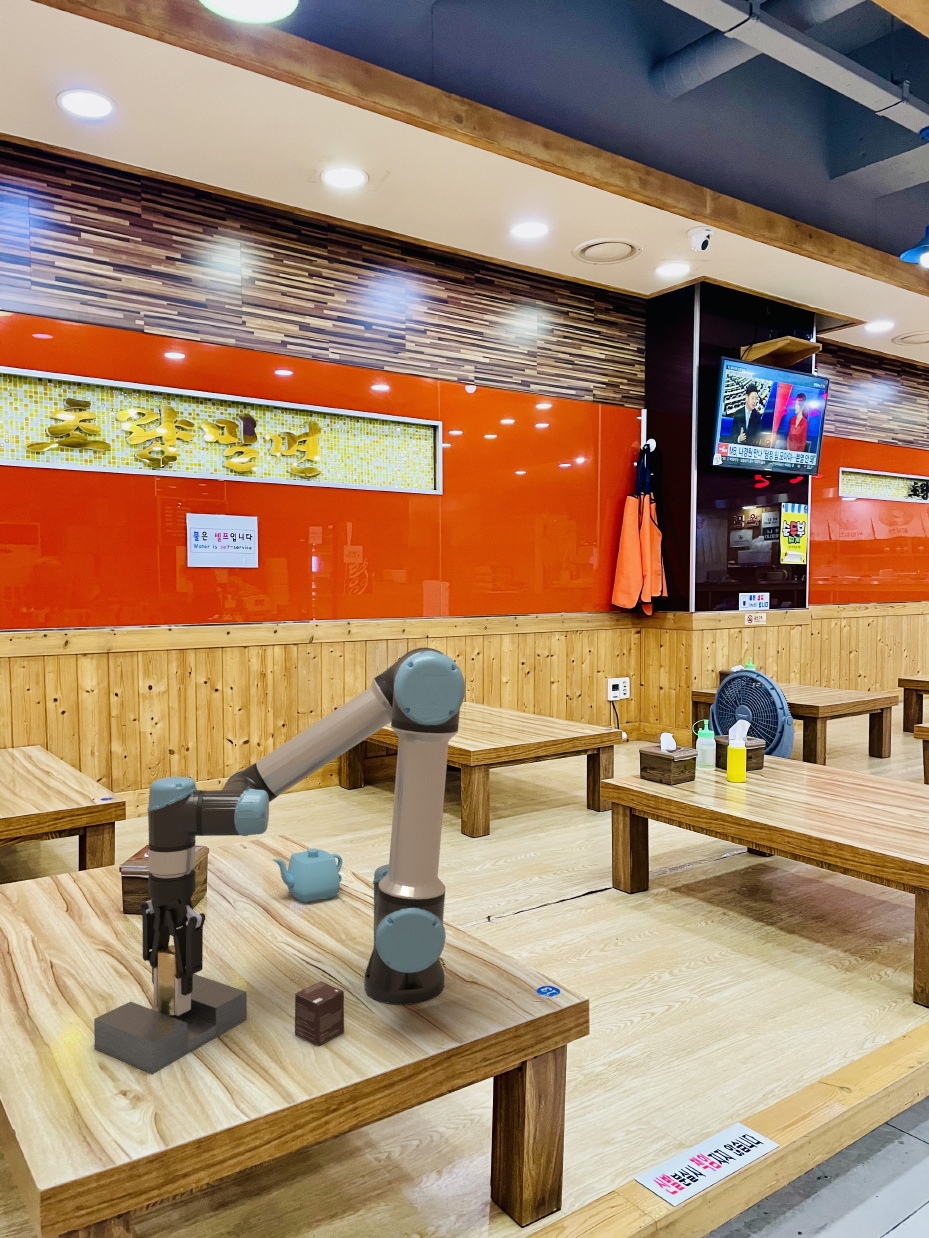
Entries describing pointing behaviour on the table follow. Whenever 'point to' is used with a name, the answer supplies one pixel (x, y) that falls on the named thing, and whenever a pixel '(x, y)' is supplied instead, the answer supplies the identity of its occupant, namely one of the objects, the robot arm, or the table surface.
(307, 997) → the box
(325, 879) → the teapot
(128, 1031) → the jig
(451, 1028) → the table surface
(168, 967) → the gold cylinder
